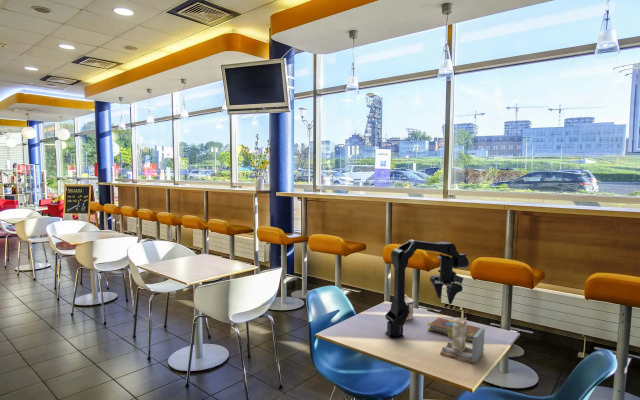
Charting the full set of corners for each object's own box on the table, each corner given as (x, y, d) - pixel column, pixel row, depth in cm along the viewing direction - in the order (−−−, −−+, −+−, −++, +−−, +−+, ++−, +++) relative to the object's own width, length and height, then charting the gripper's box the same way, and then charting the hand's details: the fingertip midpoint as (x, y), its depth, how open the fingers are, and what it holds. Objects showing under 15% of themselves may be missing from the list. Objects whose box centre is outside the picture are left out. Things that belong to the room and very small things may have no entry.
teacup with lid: (410, 321, 200) (411, 298, 199) (393, 318, 204) (393, 296, 203) (416, 314, 210) (417, 292, 210) (399, 311, 215) (400, 290, 214)
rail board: (440, 354, 164) (440, 349, 163) (449, 344, 173) (449, 339, 173) (475, 364, 155) (475, 359, 155) (483, 353, 165) (483, 348, 165)
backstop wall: (471, 361, 156) (472, 336, 156) (479, 350, 166) (480, 327, 165) (475, 362, 155) (476, 337, 155) (483, 351, 165) (484, 328, 164)
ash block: (451, 351, 164) (453, 320, 163) (455, 347, 168) (456, 317, 167) (461, 354, 162) (462, 323, 161) (465, 349, 166) (466, 319, 165)
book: (430, 322, 203) (431, 312, 203) (480, 334, 188) (481, 324, 188) (417, 330, 190) (418, 319, 190) (470, 344, 175) (471, 333, 175)
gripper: (473, 272, 181) (471, 306, 182) (449, 263, 199) (448, 294, 200) (452, 273, 178) (450, 307, 179) (430, 264, 196) (428, 295, 197)
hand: (444, 300), depth 189 cm, fingers open, 9 cm apart
